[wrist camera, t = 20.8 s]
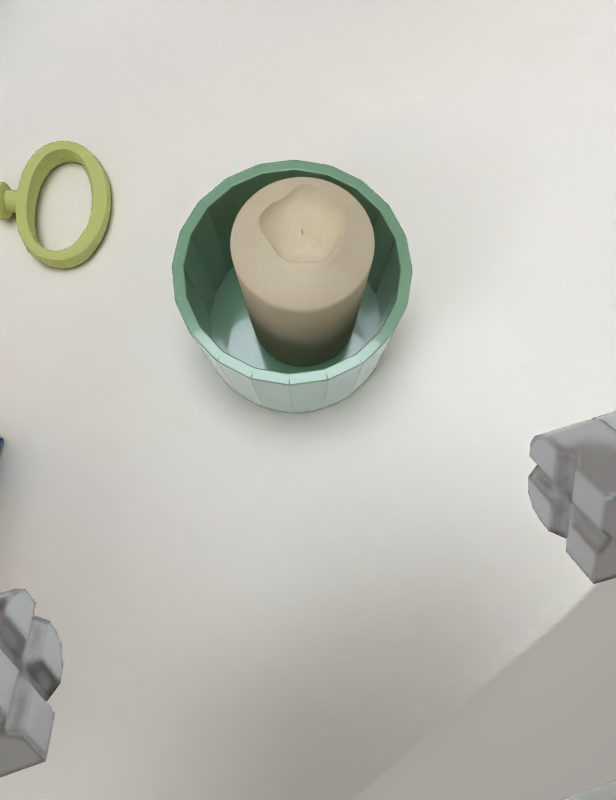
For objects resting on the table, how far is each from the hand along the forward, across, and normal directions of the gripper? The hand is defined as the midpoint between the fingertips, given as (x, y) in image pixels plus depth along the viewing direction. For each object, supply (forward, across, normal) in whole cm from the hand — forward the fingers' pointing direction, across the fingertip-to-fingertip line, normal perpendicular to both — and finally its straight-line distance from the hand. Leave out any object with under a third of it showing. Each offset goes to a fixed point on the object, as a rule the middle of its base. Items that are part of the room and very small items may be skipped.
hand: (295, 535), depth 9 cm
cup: (+21, -3, +6) cm, 22 cm away
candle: (+20, -4, +6) cm, 21 cm away
